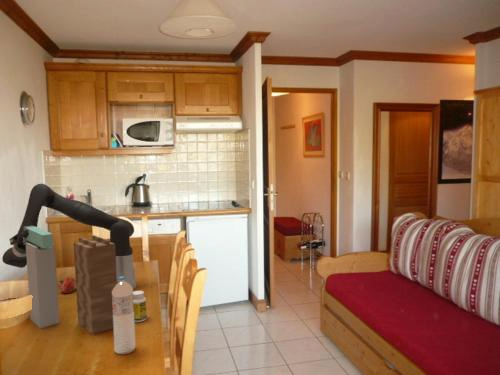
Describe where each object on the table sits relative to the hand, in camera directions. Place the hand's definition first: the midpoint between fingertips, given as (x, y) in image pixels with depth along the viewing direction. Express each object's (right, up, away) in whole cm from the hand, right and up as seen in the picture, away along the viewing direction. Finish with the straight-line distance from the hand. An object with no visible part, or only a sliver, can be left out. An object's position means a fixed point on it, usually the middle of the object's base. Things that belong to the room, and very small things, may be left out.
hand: (33, 230), depth 165 cm
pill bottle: (+43, -35, -2) cm, 56 cm away
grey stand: (+6, -36, -2) cm, 36 cm away
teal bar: (+4, -4, -4) cm, 7 cm away
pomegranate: (0, -33, +32) cm, 46 cm away
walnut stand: (+29, -36, -7) cm, 46 cm away
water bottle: (+45, -37, -28) cm, 65 cm away
